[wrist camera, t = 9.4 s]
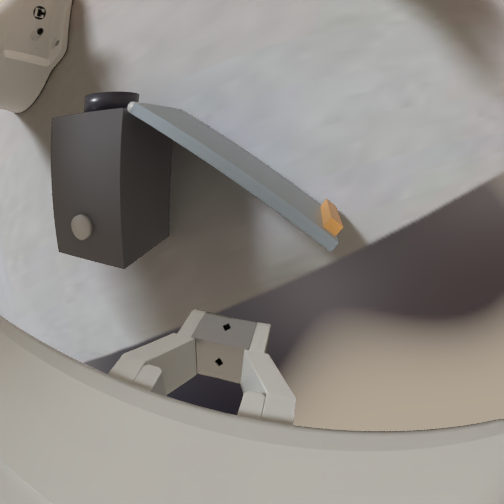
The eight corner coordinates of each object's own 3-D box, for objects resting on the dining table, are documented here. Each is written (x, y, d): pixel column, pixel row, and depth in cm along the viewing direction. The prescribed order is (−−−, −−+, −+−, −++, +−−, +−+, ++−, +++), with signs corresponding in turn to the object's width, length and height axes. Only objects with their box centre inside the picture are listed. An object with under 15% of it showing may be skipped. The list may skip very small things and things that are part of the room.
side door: (174, 115, 23) (125, 110, 16) (183, 100, 22) (136, 89, 15) (325, 219, 24) (330, 252, 17) (336, 205, 23) (347, 232, 16)
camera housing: (109, 102, 24) (48, 100, 16) (175, 97, 23) (120, 84, 15) (107, 225, 29) (54, 254, 21) (169, 236, 28) (120, 272, 20)
